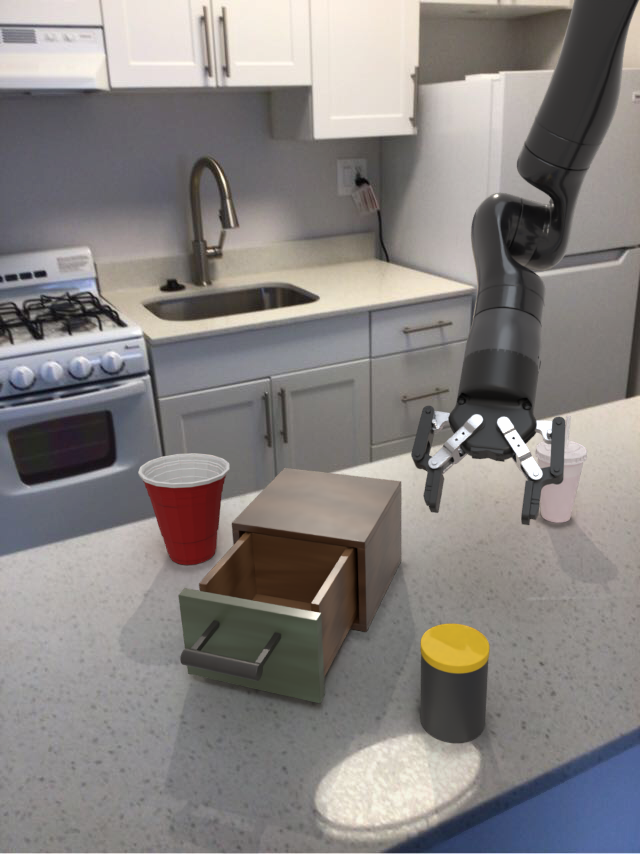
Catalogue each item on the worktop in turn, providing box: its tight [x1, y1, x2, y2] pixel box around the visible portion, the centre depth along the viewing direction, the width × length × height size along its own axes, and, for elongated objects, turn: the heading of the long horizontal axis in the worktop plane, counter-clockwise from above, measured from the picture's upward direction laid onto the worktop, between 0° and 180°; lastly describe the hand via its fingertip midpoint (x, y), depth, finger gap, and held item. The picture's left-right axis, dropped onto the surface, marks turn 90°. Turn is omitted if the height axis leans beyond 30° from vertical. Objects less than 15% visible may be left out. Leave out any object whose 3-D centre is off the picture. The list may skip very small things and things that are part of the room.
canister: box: [419, 622, 491, 744], centre depth 65 cm, size 6×6×8 cm
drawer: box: [177, 531, 358, 704], centre depth 71 cm, size 19×13×9 cm
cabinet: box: [231, 467, 402, 633], centre depth 85 cm, size 15×15×11 cm
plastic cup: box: [137, 452, 230, 566], centre depth 92 cm, size 11×11×12 cm
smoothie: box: [534, 415, 588, 524], centre depth 97 cm, size 6×6×14 cm
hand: (478, 516), depth 71 cm, fingers open, 8 cm apart
